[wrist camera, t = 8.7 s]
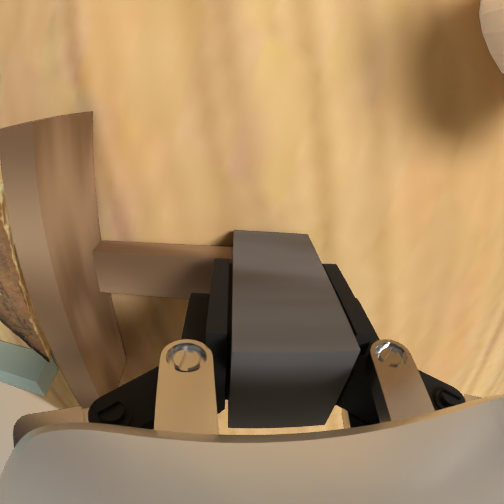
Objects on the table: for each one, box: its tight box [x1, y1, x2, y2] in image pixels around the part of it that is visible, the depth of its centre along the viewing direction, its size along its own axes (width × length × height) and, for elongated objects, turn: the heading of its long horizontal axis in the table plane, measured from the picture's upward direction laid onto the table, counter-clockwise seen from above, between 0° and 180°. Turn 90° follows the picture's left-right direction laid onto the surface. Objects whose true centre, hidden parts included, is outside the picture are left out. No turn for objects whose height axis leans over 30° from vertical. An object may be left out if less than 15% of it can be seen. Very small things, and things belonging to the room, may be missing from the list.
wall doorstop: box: [0, 111, 360, 428], centre depth 10 cm, size 13×10×6 cm
